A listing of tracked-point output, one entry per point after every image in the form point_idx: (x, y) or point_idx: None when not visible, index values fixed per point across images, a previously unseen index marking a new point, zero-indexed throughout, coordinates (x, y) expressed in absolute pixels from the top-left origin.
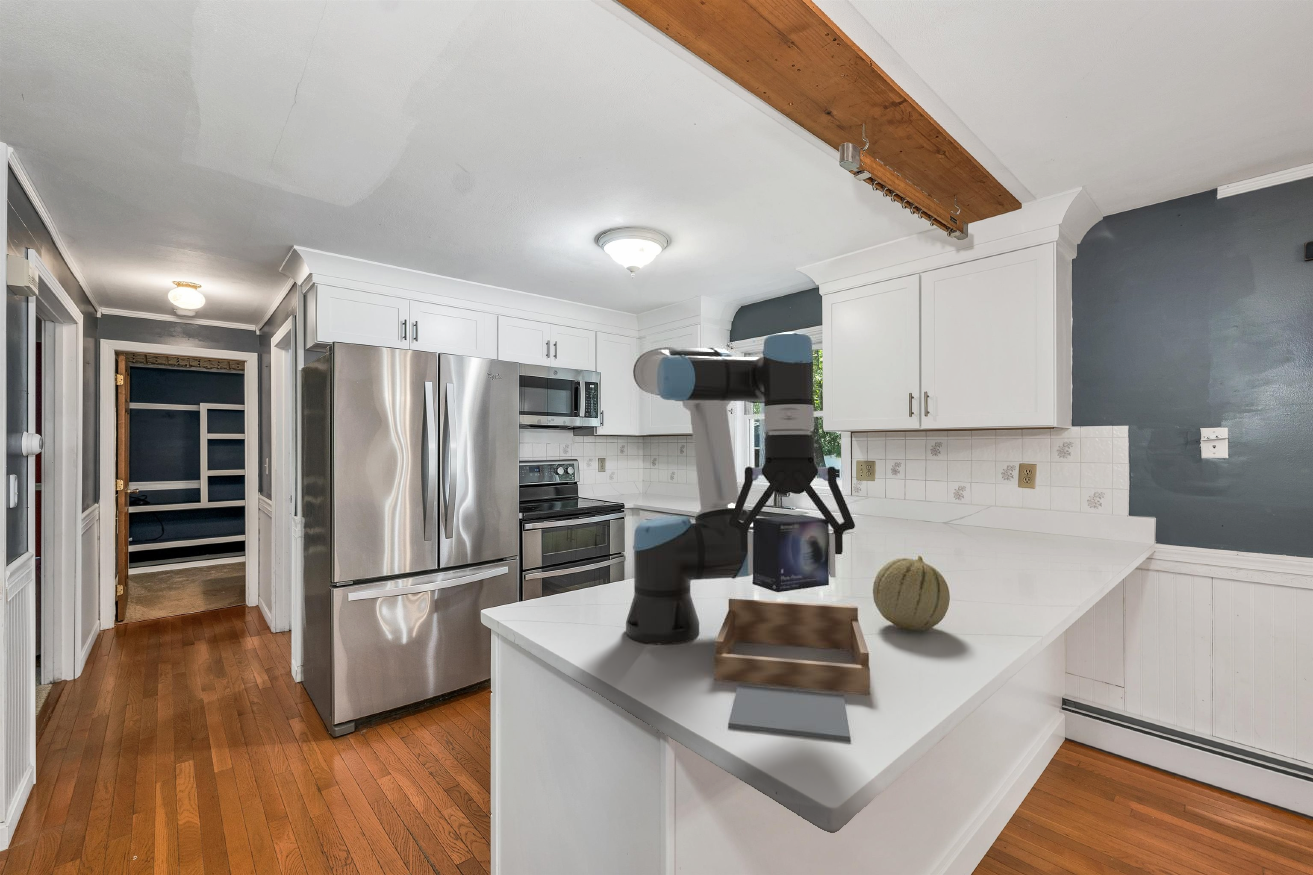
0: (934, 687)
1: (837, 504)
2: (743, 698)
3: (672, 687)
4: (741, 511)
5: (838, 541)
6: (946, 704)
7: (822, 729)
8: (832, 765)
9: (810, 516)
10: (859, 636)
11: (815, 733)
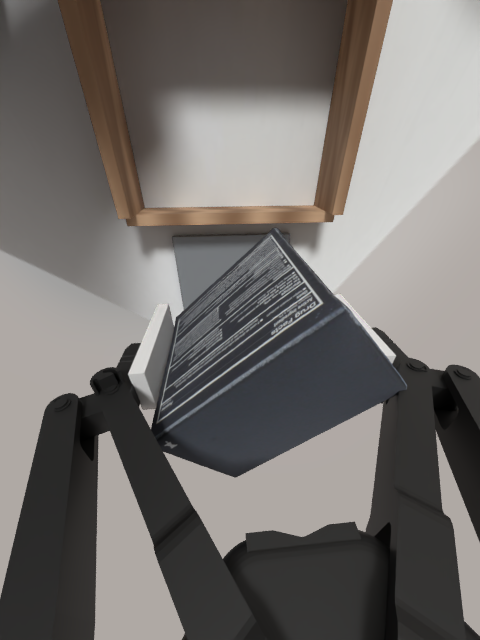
0: (408, 169)
1: (454, 476)
2: (186, 271)
3: (99, 253)
4: (86, 458)
5: None
6: (393, 220)
7: None
8: None
9: (360, 367)
10: (356, 123)
11: None
